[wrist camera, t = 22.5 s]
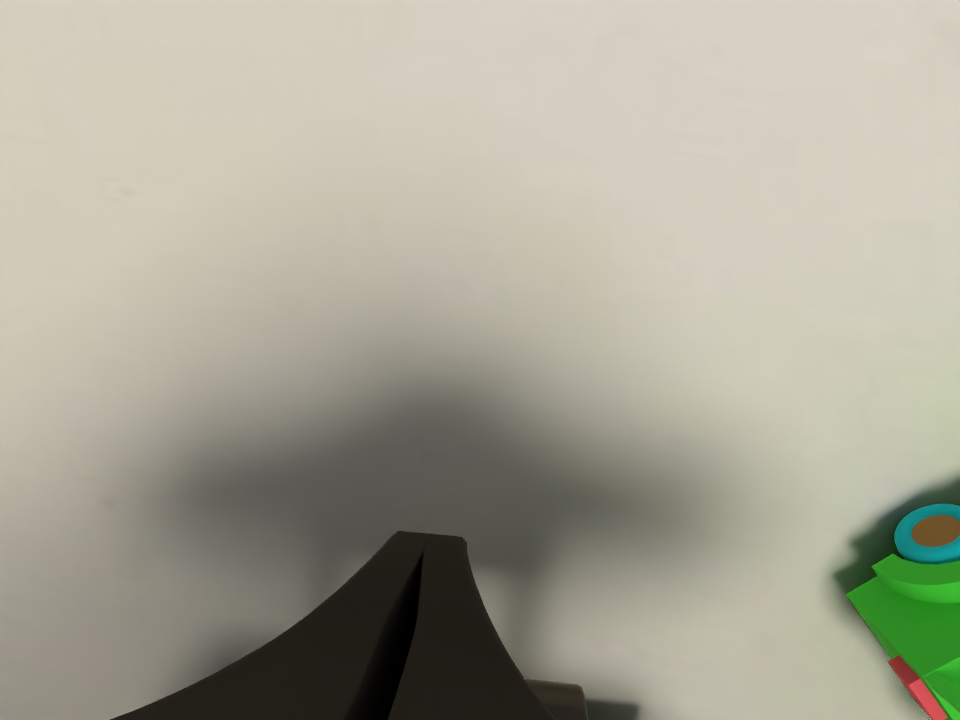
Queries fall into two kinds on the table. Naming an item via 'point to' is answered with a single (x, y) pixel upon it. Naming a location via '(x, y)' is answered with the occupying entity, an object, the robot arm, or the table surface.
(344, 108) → the table surface
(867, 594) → the toy car
